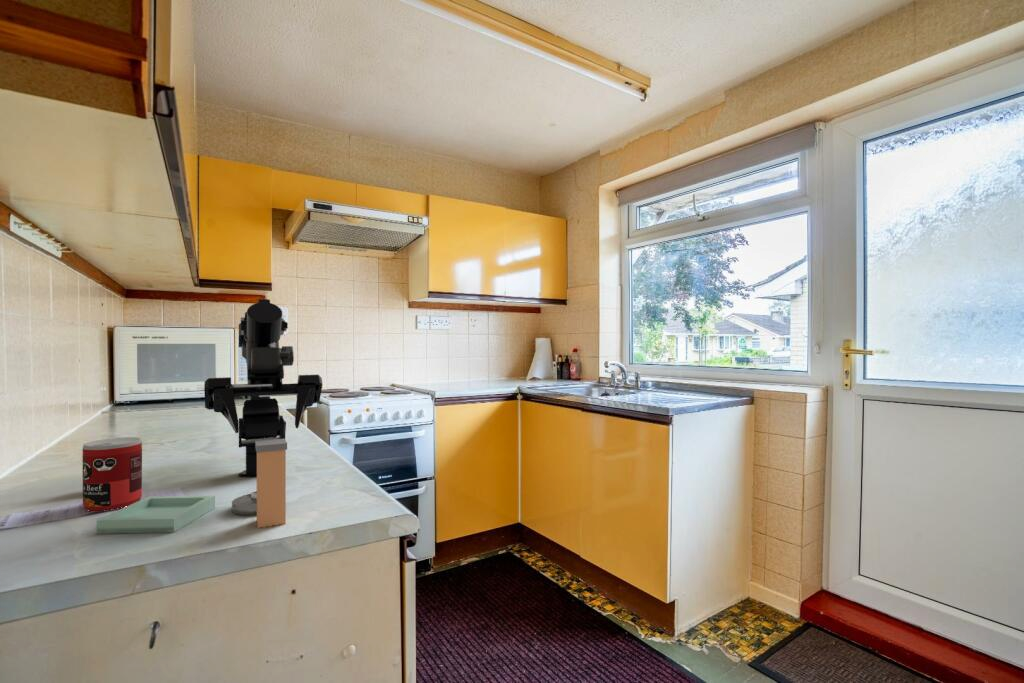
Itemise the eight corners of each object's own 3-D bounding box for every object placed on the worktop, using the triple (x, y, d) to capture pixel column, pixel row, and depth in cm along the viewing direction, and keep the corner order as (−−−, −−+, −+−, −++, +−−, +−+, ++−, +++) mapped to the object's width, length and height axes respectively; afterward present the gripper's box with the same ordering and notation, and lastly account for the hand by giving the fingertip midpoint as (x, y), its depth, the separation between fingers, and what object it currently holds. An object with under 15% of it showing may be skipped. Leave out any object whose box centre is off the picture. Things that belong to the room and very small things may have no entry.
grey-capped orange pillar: (255, 520, 78) (255, 441, 78) (284, 515, 80) (284, 438, 80) (256, 529, 74) (256, 445, 74) (287, 523, 76) (287, 443, 76)
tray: (148, 508, 83) (148, 496, 83) (215, 507, 84) (215, 495, 84) (96, 533, 72) (96, 520, 72) (174, 532, 73) (174, 518, 73)
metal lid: (246, 500, 87) (246, 486, 87) (292, 499, 88) (292, 485, 88) (222, 516, 79) (222, 500, 79) (272, 515, 80) (272, 499, 80)
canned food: (73, 508, 83) (73, 443, 83) (128, 495, 90) (128, 435, 90) (95, 515, 80) (95, 447, 80) (150, 501, 87) (150, 439, 87)
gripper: (204, 330, 84) (201, 403, 74) (320, 331, 93) (331, 396, 83) (206, 374, 90) (204, 445, 81) (314, 371, 100) (323, 434, 90)
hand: (268, 429), depth 84 cm, fingers open, 9 cm apart
